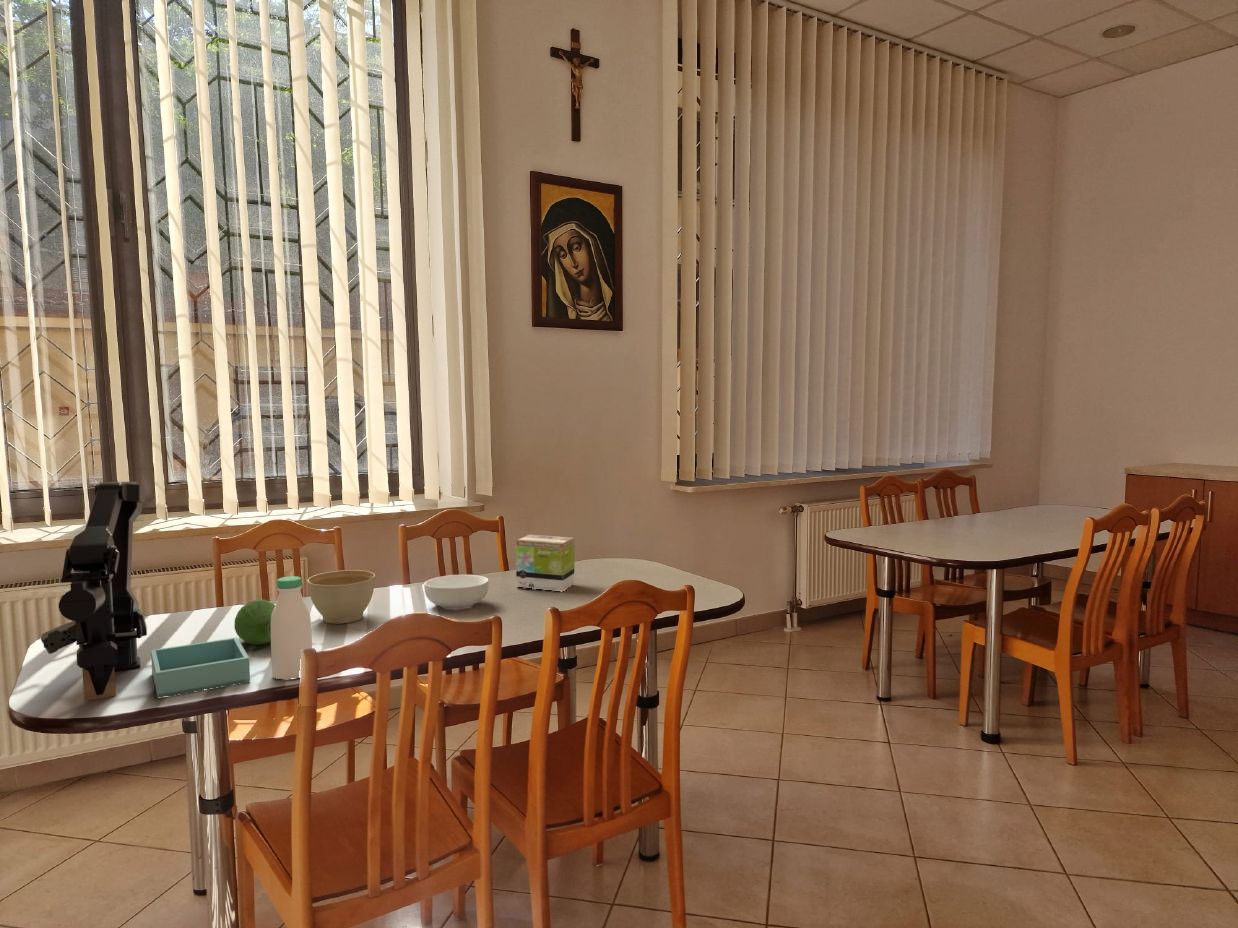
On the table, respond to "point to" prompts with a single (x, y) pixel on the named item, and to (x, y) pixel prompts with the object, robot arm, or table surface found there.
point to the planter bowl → (341, 594)
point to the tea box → (545, 562)
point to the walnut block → (89, 689)
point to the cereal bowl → (456, 590)
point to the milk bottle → (289, 629)
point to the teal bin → (199, 666)
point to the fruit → (255, 622)
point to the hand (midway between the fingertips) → (99, 686)
